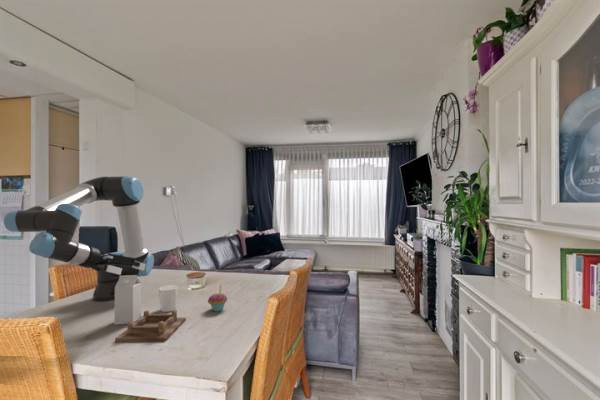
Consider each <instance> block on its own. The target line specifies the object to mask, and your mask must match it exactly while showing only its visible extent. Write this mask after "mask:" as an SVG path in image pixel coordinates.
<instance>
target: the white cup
mask: <svg viewBox="0 0 600 400" xmlns="http://www.w3.org/2000/svg"><path fill="white" fill-rule="evenodd" d="M178 287H179V286H178V285H173V284H172V285H164V286H161V287H159V289H158V291H159V293H158V295H159V307H160V308H159V309H160V312H163V313H166V312H168V313H169V312H172V311H173V310H176V309H177V304H178V290H179V289H178Z"/></svg>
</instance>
